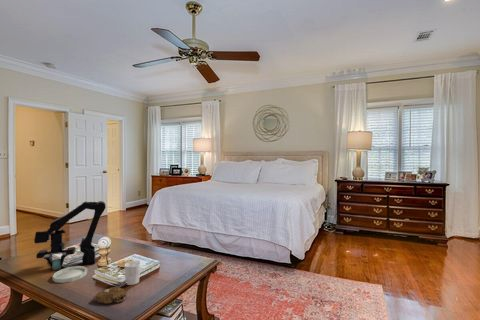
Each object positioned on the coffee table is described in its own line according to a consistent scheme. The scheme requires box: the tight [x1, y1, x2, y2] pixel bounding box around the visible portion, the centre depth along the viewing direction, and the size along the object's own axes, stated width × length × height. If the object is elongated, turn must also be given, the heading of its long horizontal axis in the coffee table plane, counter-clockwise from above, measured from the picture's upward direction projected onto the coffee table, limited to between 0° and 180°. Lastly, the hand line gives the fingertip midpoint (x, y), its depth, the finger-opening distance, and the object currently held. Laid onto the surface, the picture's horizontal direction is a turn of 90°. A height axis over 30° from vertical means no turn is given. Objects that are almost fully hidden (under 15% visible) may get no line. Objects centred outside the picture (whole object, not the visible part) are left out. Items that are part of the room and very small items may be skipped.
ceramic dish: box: [52, 265, 88, 284], centre depth 148 cm, size 16×16×2 cm
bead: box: [51, 258, 62, 271], centre depth 157 cm, size 4×4×5 cm
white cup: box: [124, 260, 141, 286], centre depth 141 cm, size 8×8×10 cm
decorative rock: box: [93, 286, 128, 304], centre depth 125 cm, size 11×4×15 cm
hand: (56, 266), depth 157 cm, fingers closed on bead, 4 cm apart
